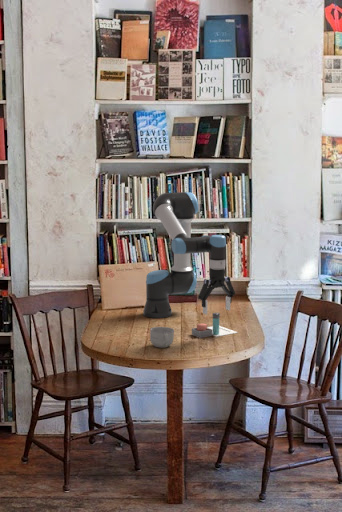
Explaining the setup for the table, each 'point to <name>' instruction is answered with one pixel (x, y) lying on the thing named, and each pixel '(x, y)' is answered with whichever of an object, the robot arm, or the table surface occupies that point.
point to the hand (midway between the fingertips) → (216, 311)
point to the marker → (216, 323)
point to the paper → (223, 331)
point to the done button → (201, 327)
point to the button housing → (201, 333)
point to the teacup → (161, 336)
